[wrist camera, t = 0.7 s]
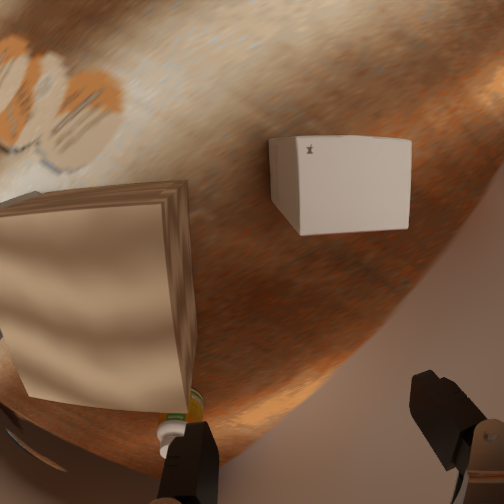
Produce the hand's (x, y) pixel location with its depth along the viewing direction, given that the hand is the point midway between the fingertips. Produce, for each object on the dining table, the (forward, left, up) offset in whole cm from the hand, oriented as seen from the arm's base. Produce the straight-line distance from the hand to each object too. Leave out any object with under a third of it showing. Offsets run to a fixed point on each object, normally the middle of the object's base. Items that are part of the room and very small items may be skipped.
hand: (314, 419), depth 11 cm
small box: (-7, +5, -24) cm, 26 cm away
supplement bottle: (+22, -10, -24) cm, 34 cm away
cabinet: (+2, -15, -24) cm, 28 cm away
